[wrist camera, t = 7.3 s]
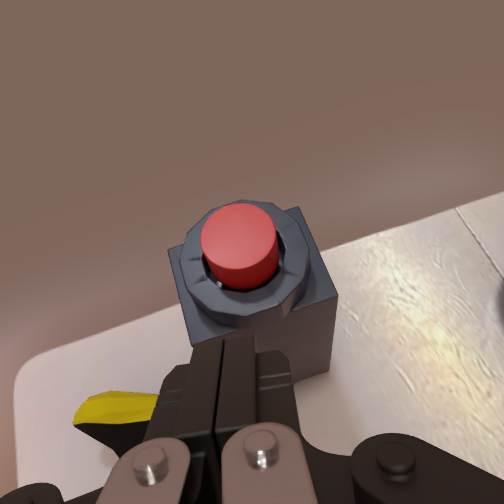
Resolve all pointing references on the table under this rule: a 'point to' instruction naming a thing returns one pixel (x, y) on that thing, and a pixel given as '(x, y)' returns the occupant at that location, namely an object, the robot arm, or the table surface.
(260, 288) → the button pillar
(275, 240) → the button
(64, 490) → the table surface
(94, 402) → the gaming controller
